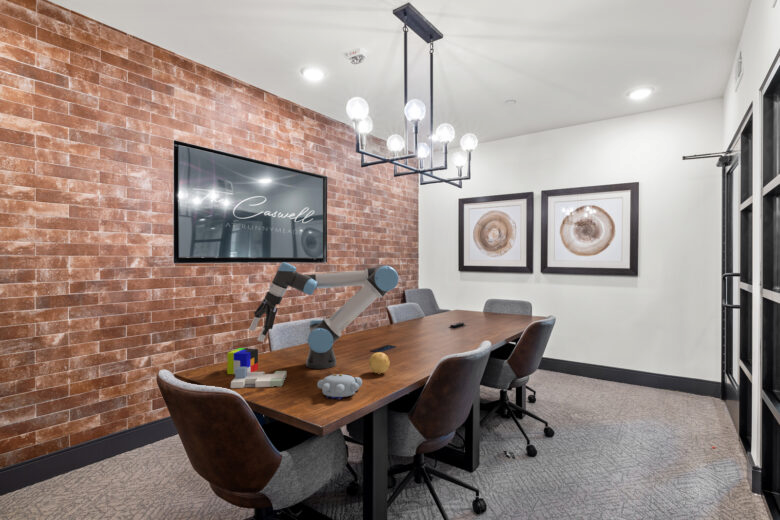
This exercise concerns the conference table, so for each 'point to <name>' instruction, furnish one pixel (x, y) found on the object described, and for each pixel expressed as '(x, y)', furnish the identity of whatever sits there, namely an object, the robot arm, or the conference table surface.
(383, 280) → the robot arm
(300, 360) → the conference table surface
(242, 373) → the block
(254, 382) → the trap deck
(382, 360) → the stress ball
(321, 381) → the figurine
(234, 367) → the puzzle toy
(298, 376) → the conference table surface
